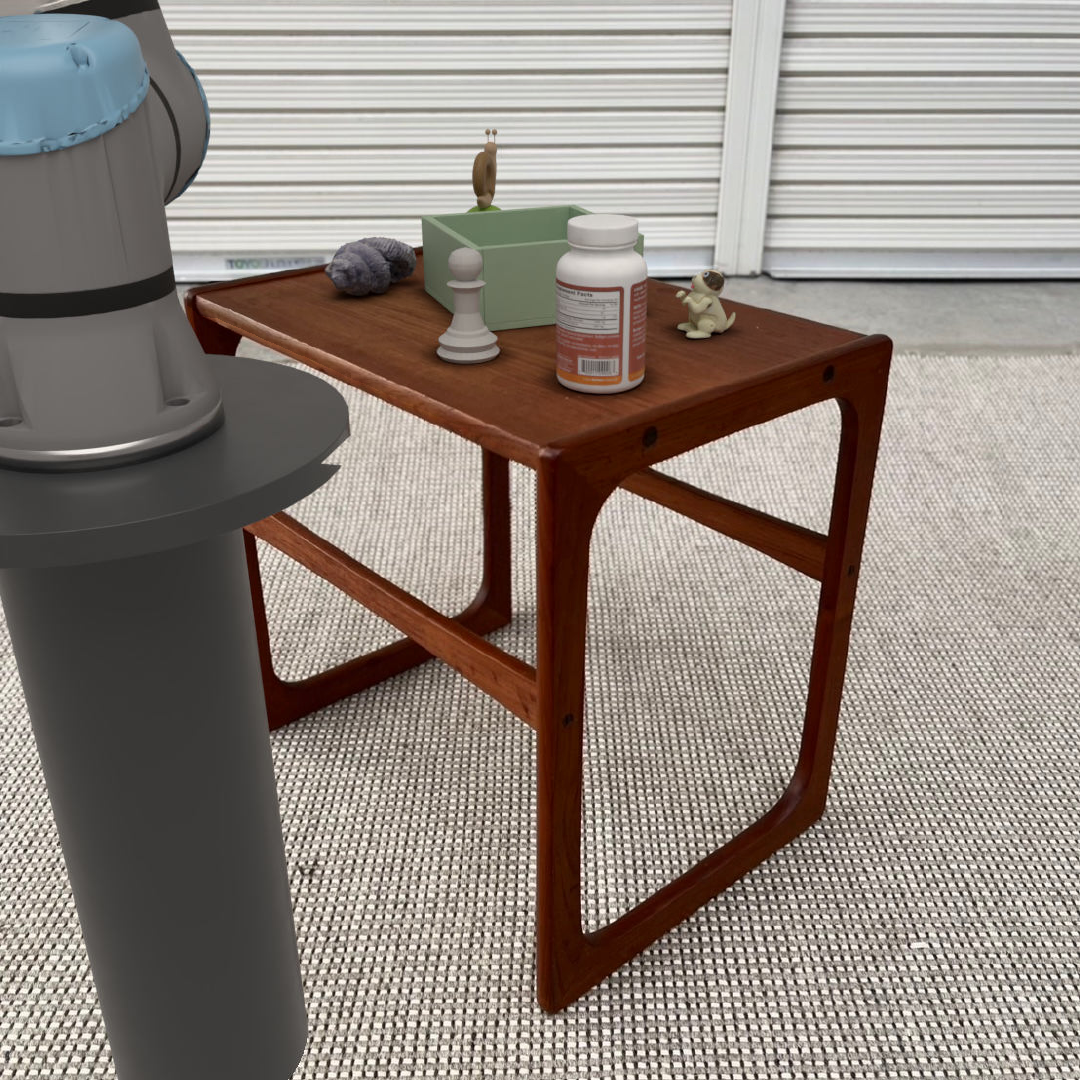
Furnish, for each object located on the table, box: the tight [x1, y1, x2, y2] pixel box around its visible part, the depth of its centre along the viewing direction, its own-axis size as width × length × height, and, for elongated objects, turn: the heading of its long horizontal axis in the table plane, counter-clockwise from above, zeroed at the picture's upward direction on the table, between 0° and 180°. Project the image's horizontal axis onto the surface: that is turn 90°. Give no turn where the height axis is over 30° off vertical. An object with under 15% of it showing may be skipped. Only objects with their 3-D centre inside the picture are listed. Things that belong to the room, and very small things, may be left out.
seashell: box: [324, 236, 418, 297], centre depth 102 cm, size 5×5×10 cm
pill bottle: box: [555, 213, 649, 395], centre depth 78 cm, size 6×6×11 cm
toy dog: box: [675, 269, 736, 339], centre depth 90 cm, size 4×5×5 cm
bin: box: [420, 204, 645, 332], centre depth 98 cm, size 15×15×7 cm
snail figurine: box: [465, 128, 502, 213], centre depth 112 cm, size 5×6×12 cm
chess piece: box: [436, 247, 501, 365], centre depth 84 cm, size 5×5×8 cm
